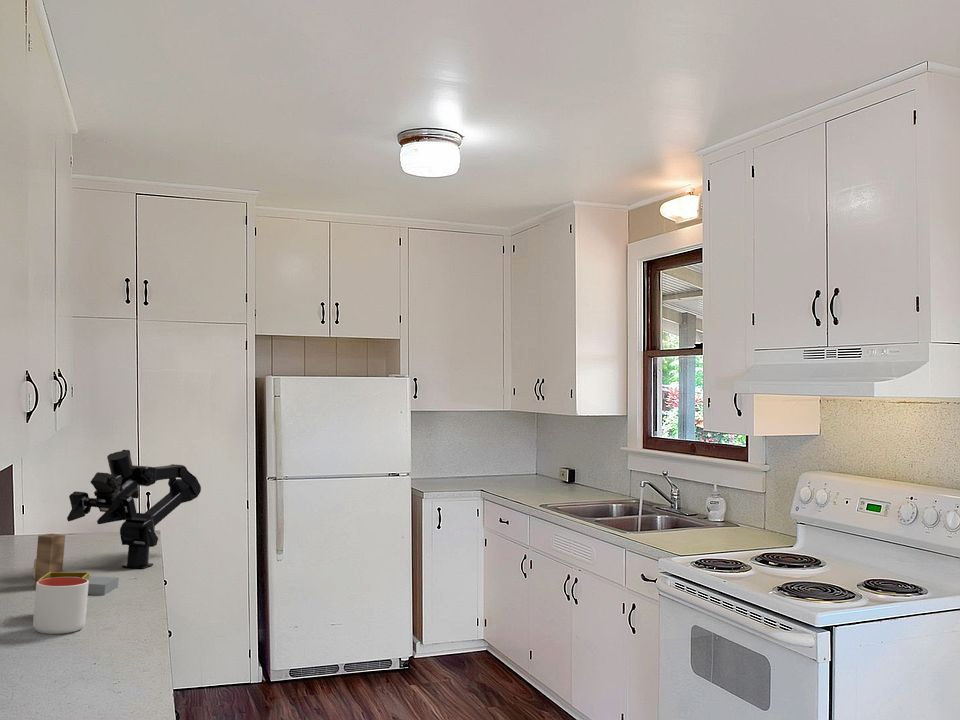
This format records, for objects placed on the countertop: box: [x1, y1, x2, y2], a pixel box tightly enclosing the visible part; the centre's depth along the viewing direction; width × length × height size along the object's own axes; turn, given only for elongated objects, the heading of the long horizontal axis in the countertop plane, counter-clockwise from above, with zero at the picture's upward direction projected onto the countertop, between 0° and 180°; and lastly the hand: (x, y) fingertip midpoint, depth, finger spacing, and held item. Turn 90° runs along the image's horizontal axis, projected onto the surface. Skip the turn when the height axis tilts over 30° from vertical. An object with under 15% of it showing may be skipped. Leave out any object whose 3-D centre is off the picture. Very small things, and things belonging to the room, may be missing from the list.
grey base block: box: [88, 575, 119, 596], centre depth 219 cm, size 9×9×3 cm
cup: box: [32, 577, 89, 635], centre depth 183 cm, size 10×10×10 cm
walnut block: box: [33, 533, 66, 588], centre depth 221 cm, size 4×4×13 cm
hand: (82, 521), depth 229 cm, fingers open, 9 cm apart
